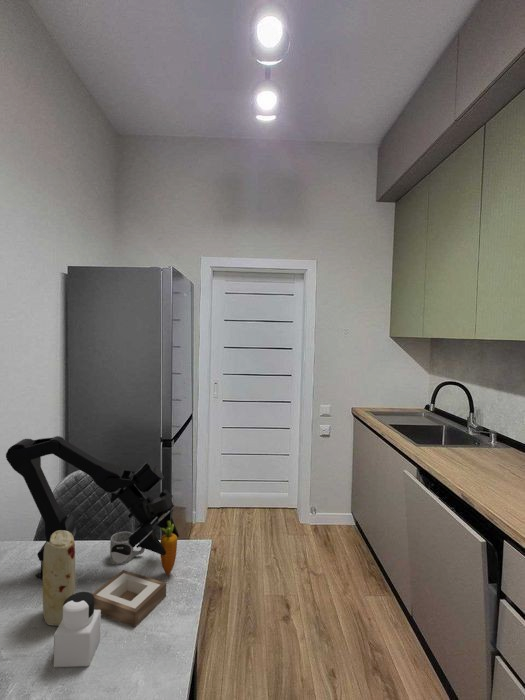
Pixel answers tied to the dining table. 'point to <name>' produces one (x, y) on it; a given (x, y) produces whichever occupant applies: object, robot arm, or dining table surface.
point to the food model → (58, 575)
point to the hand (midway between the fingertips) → (171, 545)
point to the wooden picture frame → (130, 584)
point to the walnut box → (125, 612)
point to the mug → (122, 549)
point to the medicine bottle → (77, 632)
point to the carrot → (168, 548)
